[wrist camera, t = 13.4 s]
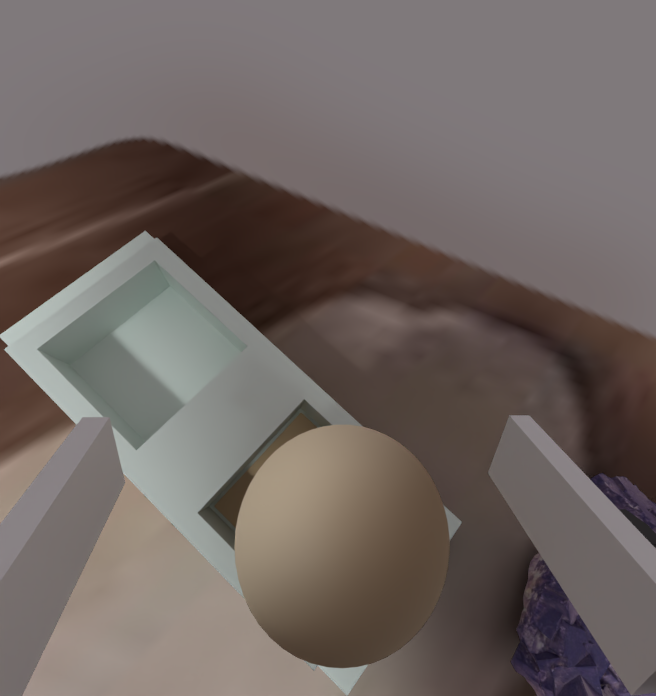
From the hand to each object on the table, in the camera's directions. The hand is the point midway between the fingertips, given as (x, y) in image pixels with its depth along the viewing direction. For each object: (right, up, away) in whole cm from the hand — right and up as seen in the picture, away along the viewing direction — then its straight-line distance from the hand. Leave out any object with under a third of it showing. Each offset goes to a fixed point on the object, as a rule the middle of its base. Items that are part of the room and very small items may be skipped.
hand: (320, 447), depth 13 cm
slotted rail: (-5, -2, +9) cm, 11 cm away
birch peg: (-1, -5, +7) cm, 9 cm away
